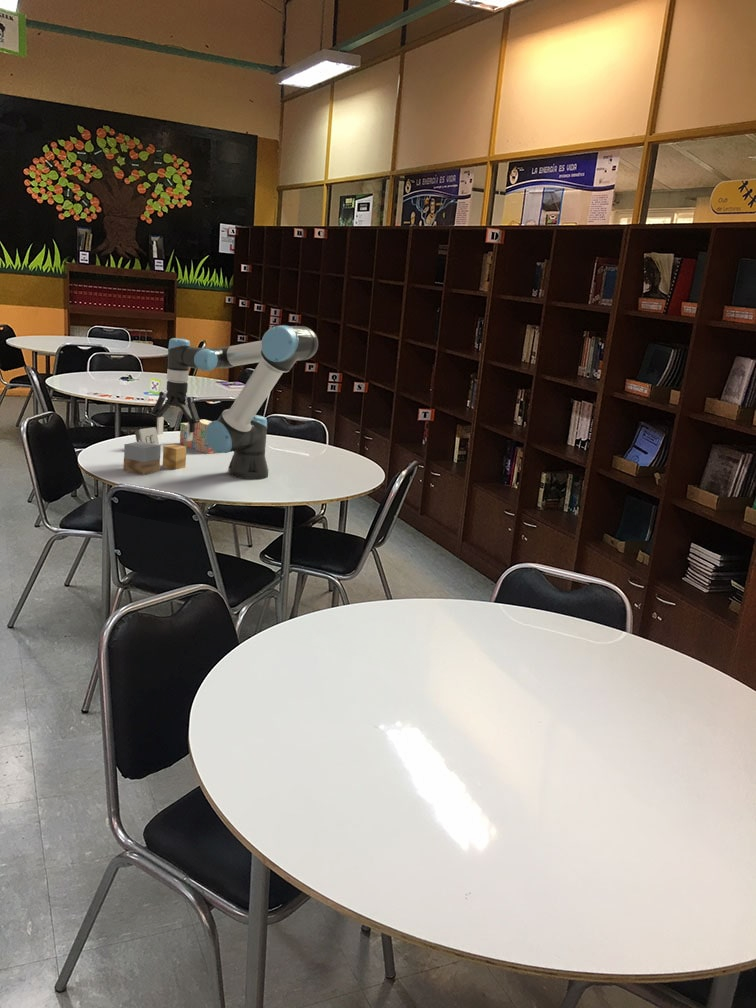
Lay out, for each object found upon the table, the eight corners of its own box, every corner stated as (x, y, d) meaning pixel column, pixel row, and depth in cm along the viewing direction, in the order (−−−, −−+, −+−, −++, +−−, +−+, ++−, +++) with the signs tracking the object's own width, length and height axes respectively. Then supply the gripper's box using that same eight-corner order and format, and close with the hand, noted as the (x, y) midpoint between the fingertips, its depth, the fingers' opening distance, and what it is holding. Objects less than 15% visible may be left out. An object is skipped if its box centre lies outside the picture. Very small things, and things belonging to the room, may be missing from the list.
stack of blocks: (179, 444, 356) (180, 416, 353) (191, 443, 360) (192, 415, 357) (208, 454, 342) (209, 425, 339) (220, 453, 347) (222, 424, 343)
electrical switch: (143, 452, 333) (142, 429, 331) (134, 451, 335) (133, 428, 333) (160, 450, 341) (159, 427, 339) (150, 449, 343) (149, 426, 341)
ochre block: (185, 467, 315) (186, 446, 313) (175, 469, 310) (176, 449, 308) (172, 464, 317) (173, 444, 315) (162, 467, 312) (163, 446, 310)
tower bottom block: (159, 471, 305) (159, 458, 304) (143, 475, 297) (143, 462, 296) (139, 467, 308) (140, 454, 307) (123, 471, 300) (123, 457, 299)
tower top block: (160, 458, 304) (160, 445, 303) (143, 462, 296) (144, 448, 295) (140, 454, 307) (141, 441, 306) (124, 457, 299) (124, 444, 298)
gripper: (211, 385, 304) (207, 442, 310) (156, 375, 313) (154, 430, 319) (199, 386, 297) (195, 444, 303) (143, 376, 307) (141, 432, 312)
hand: (174, 437), depth 311 cm, fingers open, 13 cm apart
